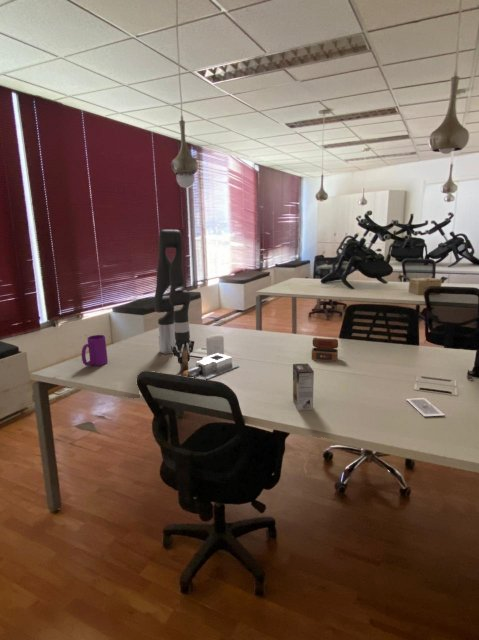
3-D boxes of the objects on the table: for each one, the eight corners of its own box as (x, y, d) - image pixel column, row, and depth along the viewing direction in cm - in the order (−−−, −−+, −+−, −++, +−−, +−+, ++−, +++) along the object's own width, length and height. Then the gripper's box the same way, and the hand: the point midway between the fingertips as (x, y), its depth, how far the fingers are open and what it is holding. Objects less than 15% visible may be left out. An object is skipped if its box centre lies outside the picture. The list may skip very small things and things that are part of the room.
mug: (111, 361, 215) (108, 335, 212) (90, 371, 201) (87, 343, 198) (98, 359, 219) (95, 334, 215) (77, 369, 205) (74, 341, 201)
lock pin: (183, 375, 188) (182, 370, 187) (203, 368, 197) (203, 363, 196) (187, 377, 186) (186, 371, 185) (207, 369, 195) (207, 364, 194)
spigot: (179, 369, 200) (177, 347, 197) (185, 367, 203) (183, 345, 200) (183, 371, 197) (182, 348, 195) (189, 368, 200) (188, 346, 198)
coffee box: (292, 400, 160) (292, 363, 157) (307, 399, 161) (308, 362, 157) (297, 410, 151) (297, 371, 148) (313, 409, 152) (314, 370, 148)
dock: (179, 372, 195) (178, 362, 194) (215, 359, 213) (214, 350, 212) (203, 381, 183) (202, 371, 182) (239, 366, 201) (238, 357, 200)
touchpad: (424, 419, 143) (424, 413, 143) (405, 401, 158) (405, 396, 157) (444, 417, 143) (445, 412, 143) (424, 400, 158) (424, 395, 158)
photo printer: (221, 353, 224) (220, 332, 222) (225, 354, 221) (224, 334, 218) (205, 356, 219) (204, 335, 216) (209, 358, 215) (208, 337, 213)
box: (294, 366, 201) (294, 344, 198) (302, 350, 227) (302, 330, 224) (350, 370, 193) (351, 348, 190) (352, 353, 219) (352, 333, 216)
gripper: (188, 326, 203) (190, 357, 207) (165, 331, 193) (168, 364, 197) (197, 328, 198) (199, 360, 202) (175, 334, 188) (177, 367, 192)
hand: (184, 362), depth 199 cm, fingers closed on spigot, 4 cm apart
